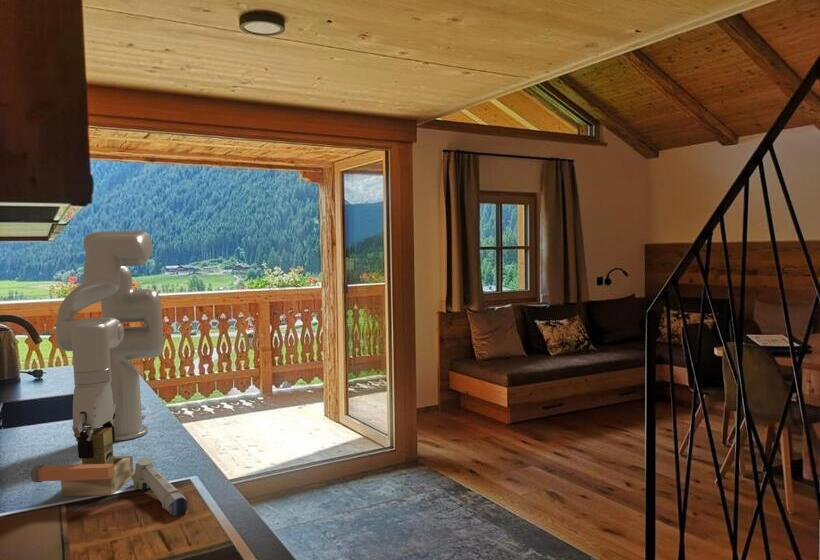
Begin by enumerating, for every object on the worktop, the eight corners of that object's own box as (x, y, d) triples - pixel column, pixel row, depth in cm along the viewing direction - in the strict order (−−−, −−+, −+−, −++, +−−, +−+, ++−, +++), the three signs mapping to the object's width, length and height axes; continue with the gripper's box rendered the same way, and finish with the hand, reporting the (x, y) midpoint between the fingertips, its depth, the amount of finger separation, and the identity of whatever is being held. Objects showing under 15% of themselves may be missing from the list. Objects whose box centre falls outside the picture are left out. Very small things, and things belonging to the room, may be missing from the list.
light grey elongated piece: (166, 501, 124) (128, 454, 142) (166, 532, 125) (128, 482, 144) (192, 494, 127) (151, 449, 146) (192, 524, 128) (152, 476, 147)
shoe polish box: (83, 487, 140) (80, 434, 140) (92, 479, 145) (89, 428, 145) (106, 485, 141) (103, 433, 140) (114, 477, 146) (111, 427, 145)
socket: (87, 477, 148) (86, 457, 148) (133, 476, 148) (132, 455, 148) (61, 496, 137) (60, 474, 137) (111, 494, 137) (110, 472, 137)
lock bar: (41, 478, 136) (40, 462, 135) (115, 476, 135) (114, 460, 135) (31, 484, 132) (30, 468, 132) (107, 482, 132) (106, 466, 132)
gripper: (95, 369, 150) (99, 438, 152) (54, 386, 133) (60, 464, 134) (126, 368, 150) (130, 437, 152) (89, 385, 133) (94, 463, 134)
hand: (97, 450), depth 143 cm, fingers open, 9 cm apart
